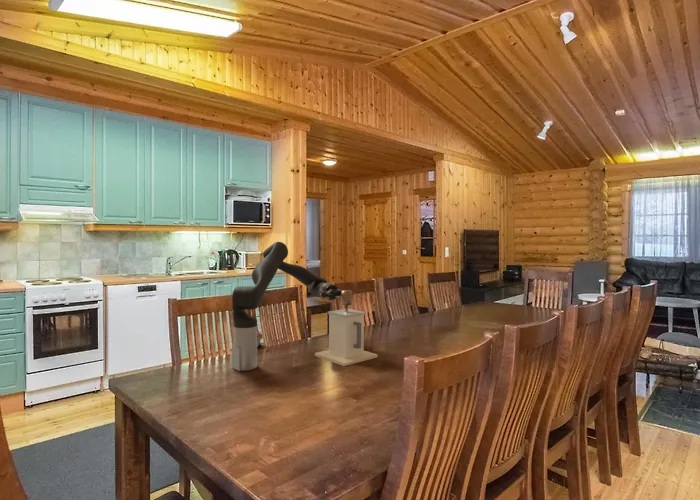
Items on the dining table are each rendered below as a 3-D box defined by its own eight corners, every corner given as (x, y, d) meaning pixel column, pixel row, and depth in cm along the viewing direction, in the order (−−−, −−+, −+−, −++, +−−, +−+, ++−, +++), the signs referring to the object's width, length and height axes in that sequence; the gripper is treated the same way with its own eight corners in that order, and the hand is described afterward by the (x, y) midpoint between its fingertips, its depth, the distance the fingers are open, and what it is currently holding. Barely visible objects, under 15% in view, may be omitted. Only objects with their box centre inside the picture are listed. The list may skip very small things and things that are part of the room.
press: (344, 366, 184) (344, 318, 184) (314, 355, 199) (315, 311, 198) (377, 357, 198) (378, 312, 197) (347, 348, 213) (348, 306, 212)
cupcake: (252, 349, 210) (252, 323, 209) (240, 346, 215) (240, 321, 214) (266, 345, 216) (266, 321, 216) (254, 342, 221) (254, 318, 221)
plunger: (345, 347, 192) (345, 292, 191) (332, 343, 199) (332, 290, 198) (360, 343, 198) (360, 291, 197) (346, 340, 205) (347, 289, 204)
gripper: (315, 284, 216) (326, 288, 201) (342, 283, 222) (355, 287, 207) (315, 299, 217) (326, 304, 202) (342, 298, 222) (355, 303, 207)
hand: (340, 296), depth 204 cm, fingers open, 8 cm apart
